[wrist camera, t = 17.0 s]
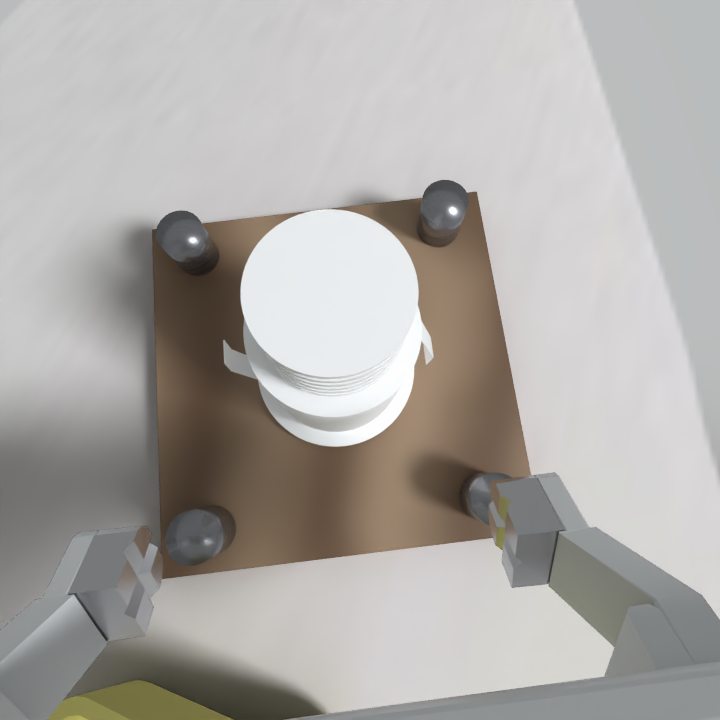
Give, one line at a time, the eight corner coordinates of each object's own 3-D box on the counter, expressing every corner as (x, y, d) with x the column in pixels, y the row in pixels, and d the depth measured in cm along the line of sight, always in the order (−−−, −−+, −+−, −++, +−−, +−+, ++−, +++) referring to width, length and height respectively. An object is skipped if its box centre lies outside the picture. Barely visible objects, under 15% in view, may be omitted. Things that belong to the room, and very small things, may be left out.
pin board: (173, 573, 22) (134, 593, 18) (162, 240, 25) (127, 202, 22) (532, 528, 22) (565, 539, 18) (471, 204, 25) (488, 160, 22)
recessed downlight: (252, 456, 21) (175, 442, 12) (244, 304, 23) (170, 180, 13) (432, 437, 22) (504, 408, 12) (413, 289, 23) (462, 159, 14)
